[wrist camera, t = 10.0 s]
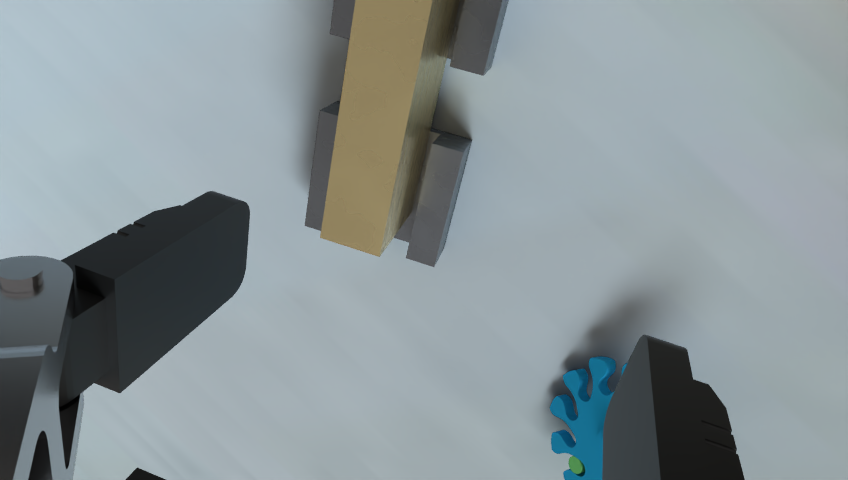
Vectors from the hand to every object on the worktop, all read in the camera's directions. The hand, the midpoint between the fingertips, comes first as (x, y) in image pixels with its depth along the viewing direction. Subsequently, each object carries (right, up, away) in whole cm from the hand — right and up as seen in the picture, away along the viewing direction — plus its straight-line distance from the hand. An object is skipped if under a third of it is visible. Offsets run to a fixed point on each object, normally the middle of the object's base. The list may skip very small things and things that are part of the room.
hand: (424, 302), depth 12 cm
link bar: (-1, +9, +20) cm, 22 cm away
